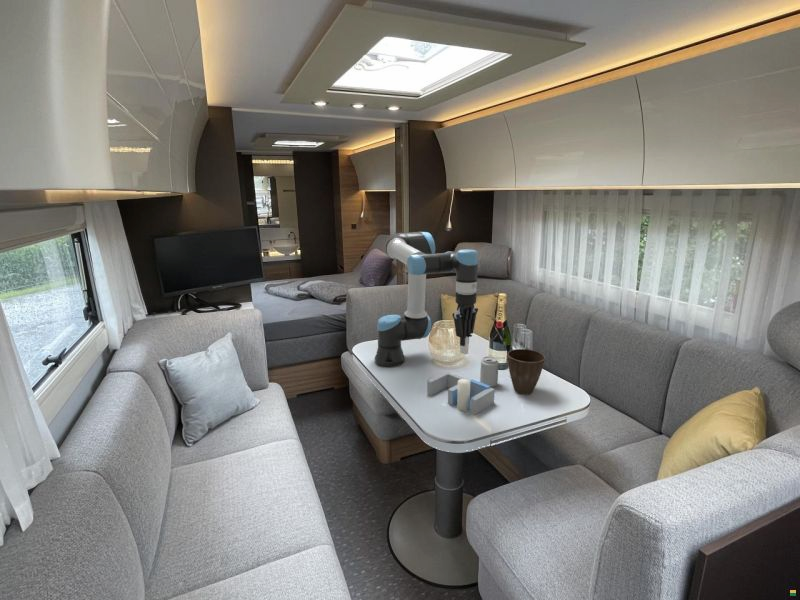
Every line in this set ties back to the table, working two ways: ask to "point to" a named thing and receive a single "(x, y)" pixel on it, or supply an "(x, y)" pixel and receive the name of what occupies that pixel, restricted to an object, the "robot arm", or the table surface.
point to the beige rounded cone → (463, 394)
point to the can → (489, 371)
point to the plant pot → (525, 369)
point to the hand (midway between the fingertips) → (464, 352)
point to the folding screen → (478, 391)
